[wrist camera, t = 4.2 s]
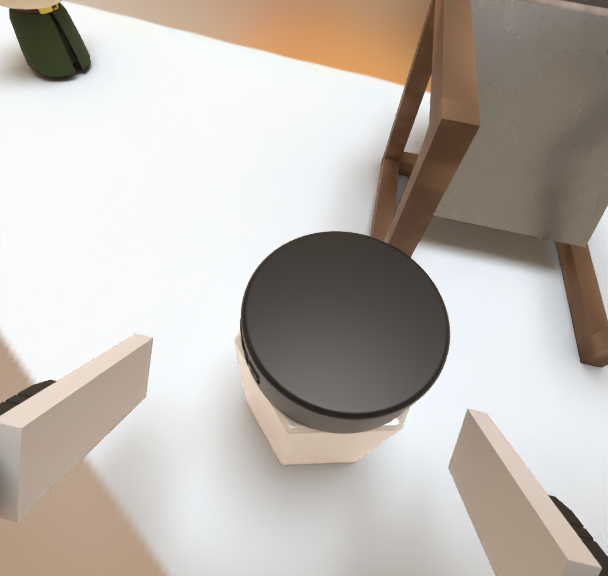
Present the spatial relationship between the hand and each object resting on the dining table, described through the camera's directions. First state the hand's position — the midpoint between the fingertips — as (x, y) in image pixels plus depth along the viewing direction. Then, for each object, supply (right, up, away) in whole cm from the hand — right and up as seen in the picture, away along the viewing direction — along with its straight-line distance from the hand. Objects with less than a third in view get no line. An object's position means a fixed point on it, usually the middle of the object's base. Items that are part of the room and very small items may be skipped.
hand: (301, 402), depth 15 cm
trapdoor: (+18, +21, +17) cm, 32 cm away
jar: (+1, -3, +9) cm, 10 cm away
